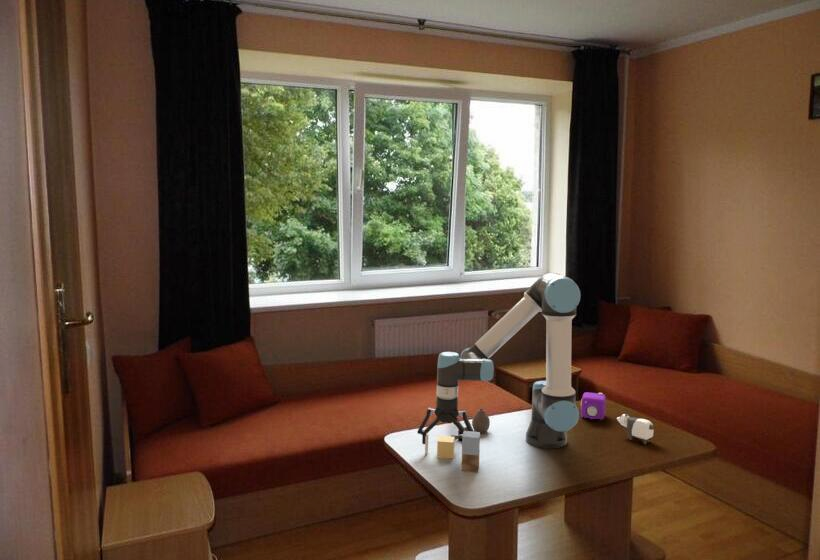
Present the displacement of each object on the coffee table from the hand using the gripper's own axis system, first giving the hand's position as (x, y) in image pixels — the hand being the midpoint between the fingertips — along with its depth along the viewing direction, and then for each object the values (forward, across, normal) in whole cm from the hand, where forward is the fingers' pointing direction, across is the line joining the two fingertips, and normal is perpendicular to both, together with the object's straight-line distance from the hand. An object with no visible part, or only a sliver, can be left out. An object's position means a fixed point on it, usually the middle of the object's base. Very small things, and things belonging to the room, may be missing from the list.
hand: (445, 454), depth 219 cm
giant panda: (0, +70, +30) cm, 76 cm away
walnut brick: (0, +10, -9) cm, 13 cm away
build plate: (+1, +5, +17) cm, 18 cm away
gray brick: (-6, +9, -9) cm, 15 cm away
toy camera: (0, +57, +52) cm, 77 cm away
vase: (0, +11, +26) cm, 28 cm away
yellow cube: (0, 0, 0) cm, 0 cm away
